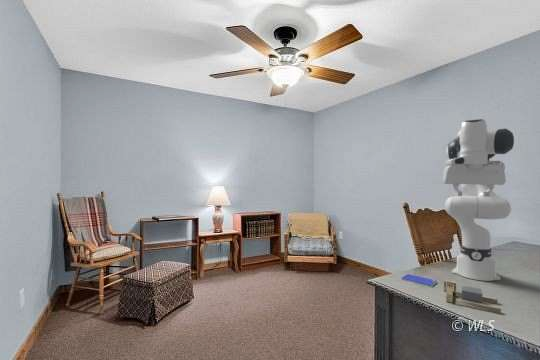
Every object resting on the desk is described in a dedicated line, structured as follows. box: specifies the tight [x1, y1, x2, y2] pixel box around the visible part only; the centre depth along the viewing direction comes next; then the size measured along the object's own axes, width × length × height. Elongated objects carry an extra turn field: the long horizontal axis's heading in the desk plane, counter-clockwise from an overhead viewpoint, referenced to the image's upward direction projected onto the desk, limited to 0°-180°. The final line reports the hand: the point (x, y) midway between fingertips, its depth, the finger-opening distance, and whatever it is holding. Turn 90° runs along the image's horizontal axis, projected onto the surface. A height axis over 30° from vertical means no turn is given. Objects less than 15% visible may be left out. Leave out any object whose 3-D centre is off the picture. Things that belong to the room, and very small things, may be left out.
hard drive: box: [401, 273, 438, 288], centre depth 127 cm, size 2×8×12 cm
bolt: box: [445, 284, 454, 304], centre depth 110 cm, size 14×2×3 cm, turn 146°
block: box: [461, 285, 483, 304], centre depth 105 cm, size 6×6×5 cm
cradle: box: [443, 279, 502, 314], centre depth 106 cm, size 14×17×4 cm
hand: (472, 196), depth 107 cm, fingers open, 8 cm apart
